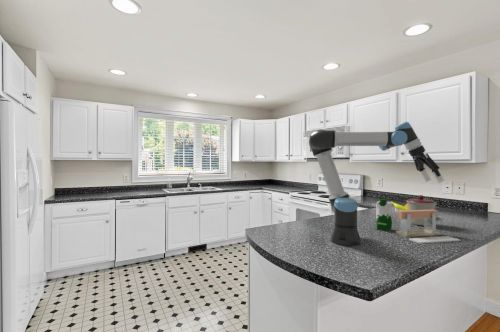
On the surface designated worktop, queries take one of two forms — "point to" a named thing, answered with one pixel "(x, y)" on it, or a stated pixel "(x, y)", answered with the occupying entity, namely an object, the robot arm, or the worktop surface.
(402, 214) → the rail
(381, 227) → the milk carton
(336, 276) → the worktop surface
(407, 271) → the worktop surface
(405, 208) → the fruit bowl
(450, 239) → the mat
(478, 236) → the worktop surface
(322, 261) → the worktop surface
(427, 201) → the canister
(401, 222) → the hook stand
